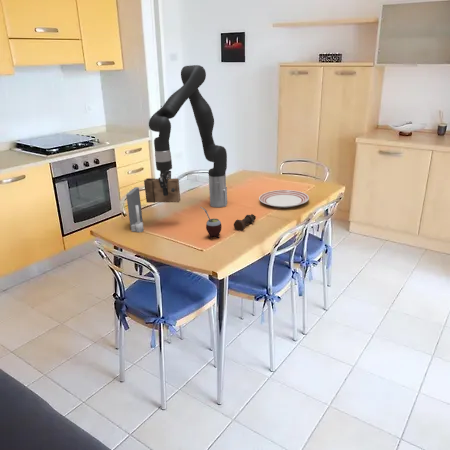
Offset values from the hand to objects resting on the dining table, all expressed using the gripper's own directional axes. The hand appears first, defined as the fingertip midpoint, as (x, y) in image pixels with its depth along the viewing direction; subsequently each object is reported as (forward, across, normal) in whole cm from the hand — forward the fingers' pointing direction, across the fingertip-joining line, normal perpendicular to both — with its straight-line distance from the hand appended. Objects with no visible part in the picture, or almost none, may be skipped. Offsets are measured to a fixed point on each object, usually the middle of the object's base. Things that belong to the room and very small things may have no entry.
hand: (167, 193), depth 209 cm
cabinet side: (+15, -5, +14) cm, 21 cm away
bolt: (+16, 0, -38) cm, 42 cm away
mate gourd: (+16, -15, -25) cm, 33 cm away
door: (+4, 0, +2) cm, 4 cm away
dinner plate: (+17, +36, -56) cm, 68 cm away
